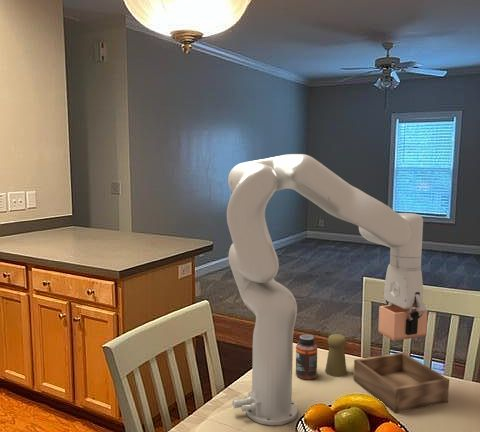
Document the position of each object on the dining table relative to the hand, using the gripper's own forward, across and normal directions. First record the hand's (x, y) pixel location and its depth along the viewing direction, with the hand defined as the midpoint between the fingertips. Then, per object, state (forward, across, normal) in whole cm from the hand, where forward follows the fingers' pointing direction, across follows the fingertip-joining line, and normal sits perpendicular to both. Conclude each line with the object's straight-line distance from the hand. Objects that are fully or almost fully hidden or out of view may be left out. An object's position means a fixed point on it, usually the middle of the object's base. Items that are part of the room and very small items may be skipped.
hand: (402, 328), depth 126 cm
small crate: (+1, 0, 0) cm, 1 cm away
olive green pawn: (+17, -15, -10) cm, 25 cm away
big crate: (+17, 0, 0) cm, 17 cm away
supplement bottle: (+17, -16, -19) cm, 30 cm away
